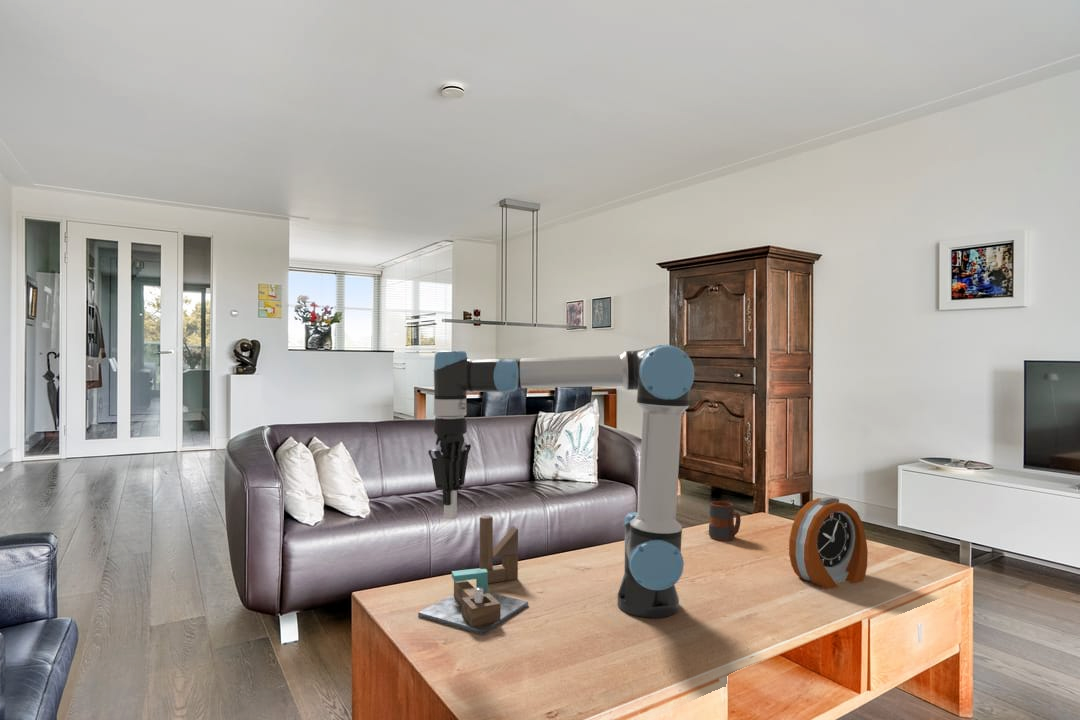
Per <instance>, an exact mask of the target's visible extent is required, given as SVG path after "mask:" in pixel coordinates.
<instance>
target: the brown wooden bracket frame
mask: <svg viewBox="0 0 1080 720" xmlns="http://www.w3.org/2000/svg"><path fill="white" fill-rule="evenodd" d="M493 521H494V520H493V516H492V515H487V514H486V515H480V516H479V567H478V568H479V569H486V570H487V572H488V585H489V584H493V583H494V584H495V583H501V582H505V581H506V582H508V581H515V580H518V579H519V555H518V554H519V529H518V528H517V527H516V526H514V525H513V526H512V527H510V529H509V530H508V531H507V533H506V534H505V535H504V536H503V537H502V539H500V541H499V542H498V543H497V544H496V545H495V547H494V546H493V543H494V541H493V537H494V536H493V534H494V532H493V531H494V530H493V529H494V527H493V526H494V522H493ZM498 557H501V565H493V564H494V562H493V561H494V560H493V558H498Z"/></svg>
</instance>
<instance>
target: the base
mask: <svg viewBox="0 0 1080 720" xmlns="http://www.w3.org/2000/svg"><path fill="white" fill-rule="evenodd" d="M474 588H475V589H474V604H475V605H480V604H483V588H481V587H477V588H476V587H474ZM488 593H490V594H491V595H492V596H493V597H494V598H495V599H496V600H497V601H498V602H500V603H501V616H500V621H496V622H491V623H487V624H482V625H477V626H471V625H470V624H469V623H468V622H467V620H466V619H465V618H464V617H463V616H462V605H461V604H460V602H459V601H458V600H457V599H456V598H455V597H454V593H453V594H451V595H449V596H447V597H445V598H443V599H442V600H440V601H437V602H436V603H433V604H431V605H430V606H427V607H426V608H423V609H422V610H420V611H418V613H417V615H418V617H419V618H423V619H427V620H429V621H432V622H436V623H440V624H443V625H447V626H450V627H454V628H457V629H460V630H464V631H468V632H471V633H474V634H478V635H480V636H484V635H486V634H487V633H488V632H490V631H492V630H493V629H495V628H496V627H498V626H499V625H501V624H503V623H504V622H505V621H507V620H508V619H510V618H512V617H513V616H515V615H516V614H517V613H520V612H521V611H522V610H524V609H525V608H527V607H528V606H529V601H527V600H522V599H518V598H514V597H510V596H505V595H503V594H497V593H494V592H490V591H488Z"/></svg>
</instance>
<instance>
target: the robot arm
mask: <svg viewBox="0 0 1080 720" xmlns="http://www.w3.org/2000/svg"><path fill="white" fill-rule="evenodd" d="M433 364H434V366H433V367H434V369H433V383H434V385H433V386H434V387H433V388H434V389H433V390H434V391H433V392H434V394H433V395H434V396H433V415H434V416H435V418H434V419H433V432H434V434H435V435H436V436H437V438H436V442H435V447H434V448H432V449H429V450H428V452H427V453H428V455H429V458H430V459H431V465H432V469H433V470H432V472H433V478H434V482H435V488H436V490H439V491H442V505H443V518H444V519H448V520H455V519H457V518H458V501H459V499H458V497H459V493H458V492H459V491H461V490H462V488H463V487H462V486H464V485H465V481H466V473H467V465H468V458H469V453H470V451H471V448H472V446H471V444H470V443H466V442H465V437H464V434H467V429H468V428H467V425H468V423H467V422H468V421H467V420H468V419H467V418H466V417H465V416H467V398H468V397H467V396H468V395H467V394H468V393H467V392H486V393H487V392H488V393H489V392H491V393H494V392H495V393H497V392H498V393H501V394H502V393H508V392H515V391H517V390H518V389H531V388H532V389H534V388H536V389H537V388H539V389H540V388H541V389H542V388H581V387H583V388H585V387H623V388H624V389H625V390H627V391H628V390H629V391H631V390H634V391H635V390H636V391H637V395H636V404H637V405H638V407H640V409H641V410H642V413H643V414H642V424H641V425H642V427H641V429H642V430H641V445H640V463H639V481H638V497H637V511H635V512H629V513H627V514H626V515H625V516H624V524H623V527H624V573H623V577H622V579H621V582H620V586H619V589H618V592H617V597H616V599H617V603H616V604H617V607H618V608H619V609H620V610H621V611H623V612H625V613H626V614H629V615H631V616H636V617H641V618H653V619H654V618H655V619H656V618H659V619H660V618H666V617H670V616H673V615H674V614H676V613H678V612H679V609H680V598H679V595H678V591H677V589H676V586H675V584H676V583H678V582H679V580H680V579H681V577H682V576H683V572H684V565H685V563H684V557H683V555H682V536H683V526H682V525H681V524H680V522H679V521H677V519H676V518H677V517H676V516H677V503H678V502H677V500H678V483H679V467H680V450H681V449H680V448H681V434H682V433H681V431H682V417H683V416H682V415H683V413H684V412H685V411H686V410H687V409H688V408H689V407H690V398H691V397H690V396H691V395H690V394H691V388H692V385H693V383H694V380H695V367H694V364H693V361H692V359H691V357H690V356H689V355H688V354H687V353H686V352H685V351H684V350H682V348H680V347H677V346H675V345H671V344H670V345H669V344H660V345H656V346H652V347H647V348H644V349H638V350H625V351H624V352H622V354H619V355H618V354H617V355H591V356H590V355H589V356H588V355H587V356H584V355H583V356H561V357H560V356H559V357H558V356H556V357H551V356H550V357H523V358H522V357H521V358H495V359H494V358H493V359H490V358H488V359H471V358H468V353H467V352H466V351H465V350H439V351H437V352H436V353H435V354H434V363H433Z"/></svg>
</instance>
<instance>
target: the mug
mask: <svg viewBox="0 0 1080 720" xmlns="http://www.w3.org/2000/svg"><path fill="white" fill-rule="evenodd" d="M734 508H735V507H734V504H733V503H732V502H728V501H721V500H718V501H716V500H715V501H712V502H710V504H709V517H710V518H709V524H708V536H709V537H710V539H712V540H715V541H719V542H720V541H721V542H729V541H733V540H734V538H735V536H736V535H737V534H738V533H739V530H740V527H741V522H742V521H741V520H742V519H741V515H740V513H739V512H738V511H735V509H734ZM734 518H735V520H734ZM734 521H735V522H734ZM734 523H735V524H734Z"/></svg>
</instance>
